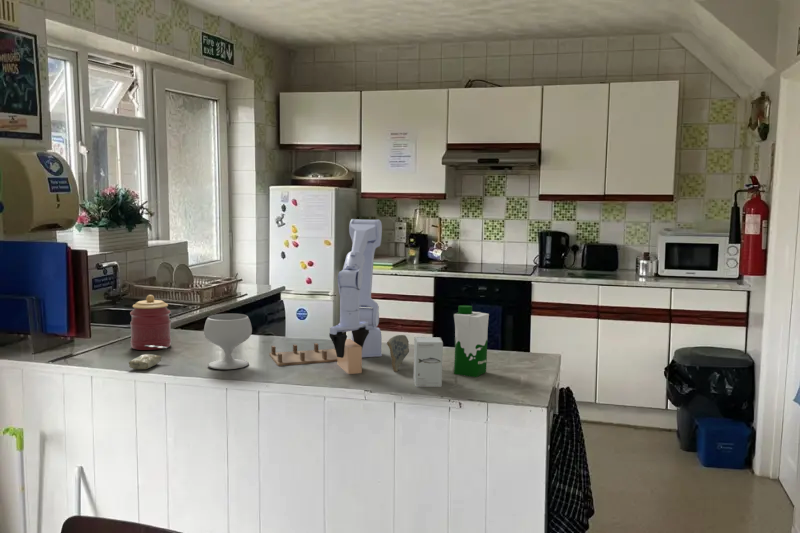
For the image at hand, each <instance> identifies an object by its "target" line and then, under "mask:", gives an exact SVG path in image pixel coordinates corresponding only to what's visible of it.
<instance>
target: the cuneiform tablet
mask: <svg viewBox="0 0 800 533" xmlns="http://www.w3.org/2000/svg"><path fill="white" fill-rule="evenodd" d="M145 347H155V348H163V349H168V348H169V347H162V346H152V345H145ZM161 361H162V355H157V354H150V353H143V354H141V355H139V356H137V357H135V358H133V359H132V360H129V361H128V365H129V366H128V367H129V368H131V369H134V370H147V369H150V368H151V367H152V368H153V367H154V366H156V365H157V364H159V363H160V362H161Z"/></svg>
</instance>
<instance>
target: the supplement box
mask: <svg viewBox="0 0 800 533" xmlns="http://www.w3.org/2000/svg"><path fill="white" fill-rule="evenodd" d="M443 349H444V342H443V340H442V337H441V336H440V337H437V336H436V337H434V336H433V337H431V336H429V337H427V336H426V337H425V336H415V337H414V341H413V350H414V351H413V383H414V386H415V387H416V388H417V387H418V388H420V387H421V388H422V387H423V388H424V387H433V388H434V387H435V388H436V387H440V388H441V387H442V386H443V385H442V384H443V354H444V353H443V352H444V351H443Z"/></svg>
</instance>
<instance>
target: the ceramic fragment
mask: <svg viewBox="0 0 800 533" xmlns="http://www.w3.org/2000/svg"><path fill="white" fill-rule="evenodd" d="M386 345H387V346H388V349H389V354H390V357H391V368H392V370H393V372H395V373H396V372H397V373H398V371H399V369H400V366H402V365H403V362H404V360H405V358H406V357H407V356H408V354H409V352H410V346H409V339H408V337H407V335H405V334H397V335H394V336H392V337H390V338H389V339H388V340H387V341H386Z"/></svg>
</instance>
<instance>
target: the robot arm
mask: <svg viewBox="0 0 800 533" xmlns="http://www.w3.org/2000/svg"><path fill="white" fill-rule="evenodd" d="M348 227H349V228H348V232H349V236H350V239H351V243H352V245H351V246H352V247H351V251H349V252H348V253H347V254H346V256H345V261H344V263H343V266H342V269H341V271H340V270H339V272H338V274H337V287H338V295H339V323H338V324H337V325H334V326H330V327H329V335H328V336H329V338H330V340H331V342H332V344H333V347H334V349H335V350H336V354H337V357H340V358H343V357H344V348H345V342H346V339H348V334H347V335H346V334H344V333H347V332H351V338H350V339H351V340H352V341H354V342H355V343H357V344H358V345H360V346H361V347H362V359H363V358H376V357H383V354H382V336H383V335H382V331H381V328H380V327H378V325H379V323H380V313H379V311H380V310H379V309H380V308H379V307H380V306H379V303H377V302H376V301H375V300H374V299H373V298H372V287H373V276H374V275H373V273H374V272H373V271H374V262H375V258H374V257H375V252H376V249H377V248H379V247H381V244H382V237H383V236H382V234H383V233H382V232H383V224H382V221H381V220H380V219H379V218H378V219H360V218H359V219H358V218H357V219H356V218H351V219H350V221H349V226H348Z"/></svg>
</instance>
